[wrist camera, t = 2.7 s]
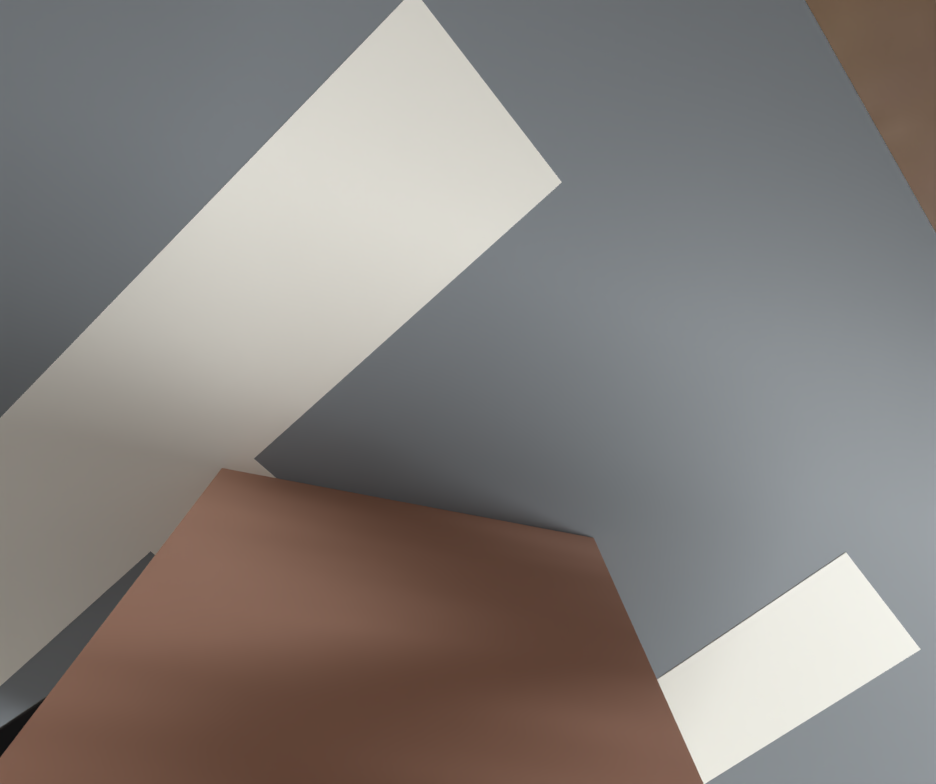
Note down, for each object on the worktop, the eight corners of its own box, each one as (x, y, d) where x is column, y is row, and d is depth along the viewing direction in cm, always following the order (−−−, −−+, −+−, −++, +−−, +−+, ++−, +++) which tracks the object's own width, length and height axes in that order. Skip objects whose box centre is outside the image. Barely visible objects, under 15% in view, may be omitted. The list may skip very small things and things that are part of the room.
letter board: (1149, 645, 10) (1178, 664, 9) (371, 1094, 13) (369, 1122, 13) (408, -638, 5) (406, -711, 4) (-553, 615, 8) (-603, 637, 8)
